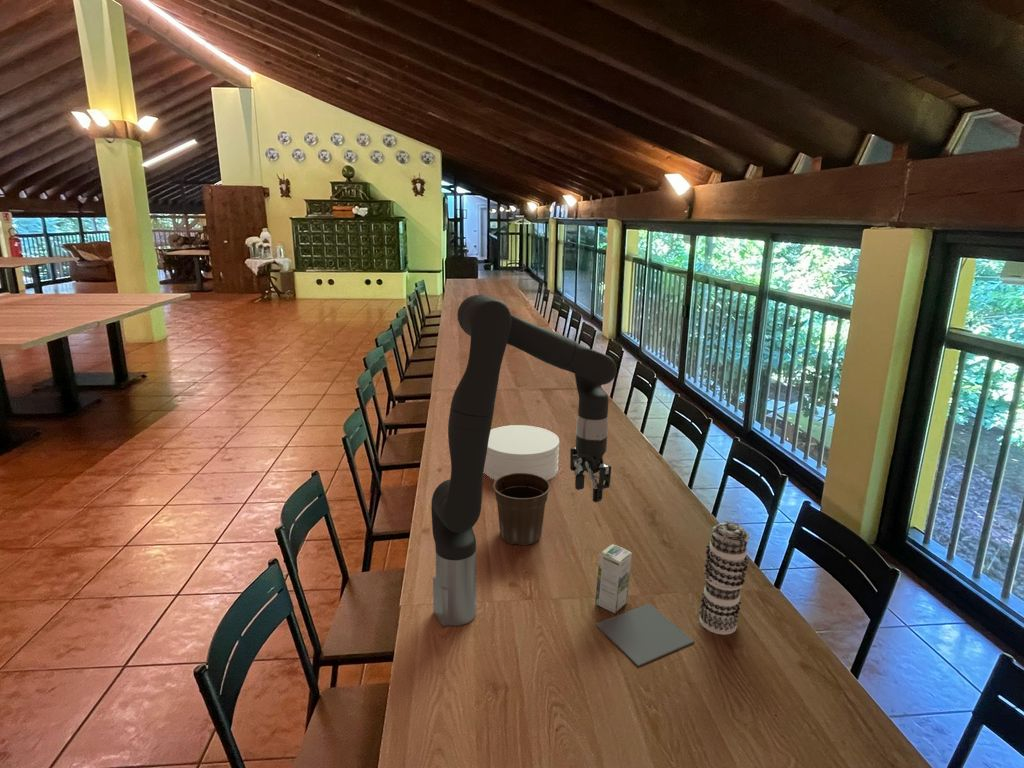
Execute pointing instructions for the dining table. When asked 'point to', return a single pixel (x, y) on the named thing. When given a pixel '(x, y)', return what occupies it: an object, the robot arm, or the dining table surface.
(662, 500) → the dining table surface
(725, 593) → the decorative candle
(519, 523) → the plant pot
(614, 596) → the syrup box
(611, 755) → the dining table surface
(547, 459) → the plate stack
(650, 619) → the mat
